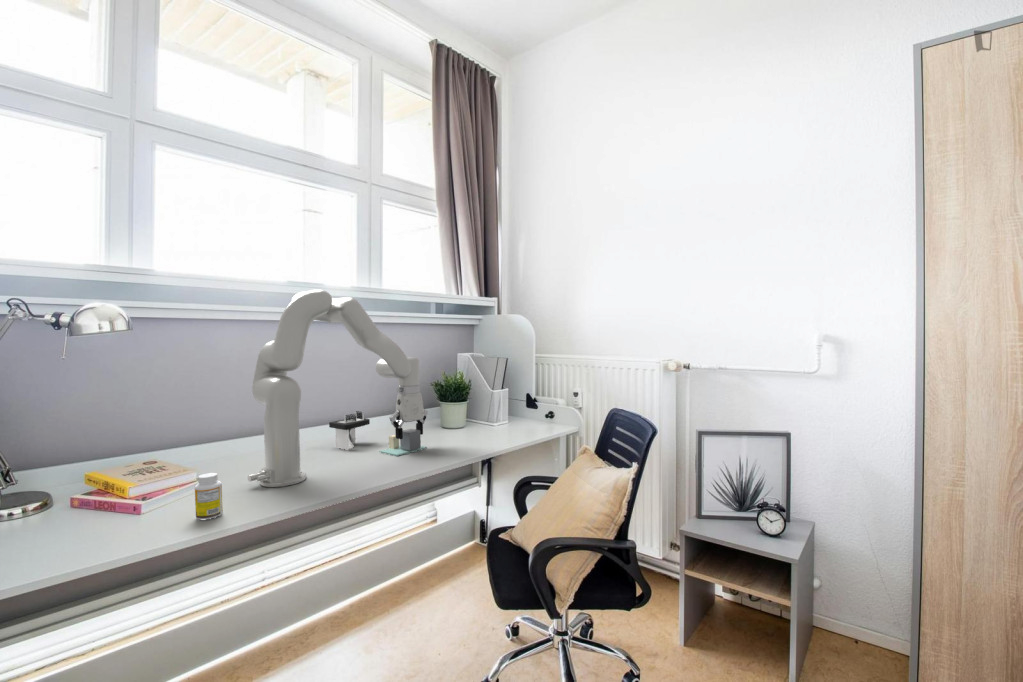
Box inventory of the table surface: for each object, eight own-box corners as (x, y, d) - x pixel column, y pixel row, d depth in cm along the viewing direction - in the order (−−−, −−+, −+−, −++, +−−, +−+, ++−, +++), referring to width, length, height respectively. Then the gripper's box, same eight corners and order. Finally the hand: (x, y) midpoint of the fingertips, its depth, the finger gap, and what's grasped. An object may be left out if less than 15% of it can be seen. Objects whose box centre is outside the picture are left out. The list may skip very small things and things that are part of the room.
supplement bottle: (205, 512, 120) (204, 471, 120) (227, 512, 120) (226, 471, 120) (190, 521, 115) (188, 478, 114) (213, 521, 115) (212, 478, 114)
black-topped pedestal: (341, 460, 169) (340, 422, 169) (299, 450, 184) (298, 415, 184) (402, 444, 192) (401, 410, 192) (360, 436, 207) (359, 405, 207)
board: (397, 456, 172) (396, 441, 172) (378, 452, 178) (378, 438, 178) (426, 448, 183) (426, 434, 183) (408, 444, 189) (408, 431, 189)
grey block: (409, 450, 175) (409, 432, 175) (400, 448, 179) (400, 431, 179) (420, 447, 180) (420, 430, 179) (411, 446, 183) (410, 428, 183)
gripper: (397, 393, 169) (397, 441, 170) (433, 388, 183) (433, 433, 183) (383, 391, 174) (384, 439, 174) (419, 387, 188) (420, 431, 188)
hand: (409, 436), depth 179 cm, fingers open, 9 cm apart
